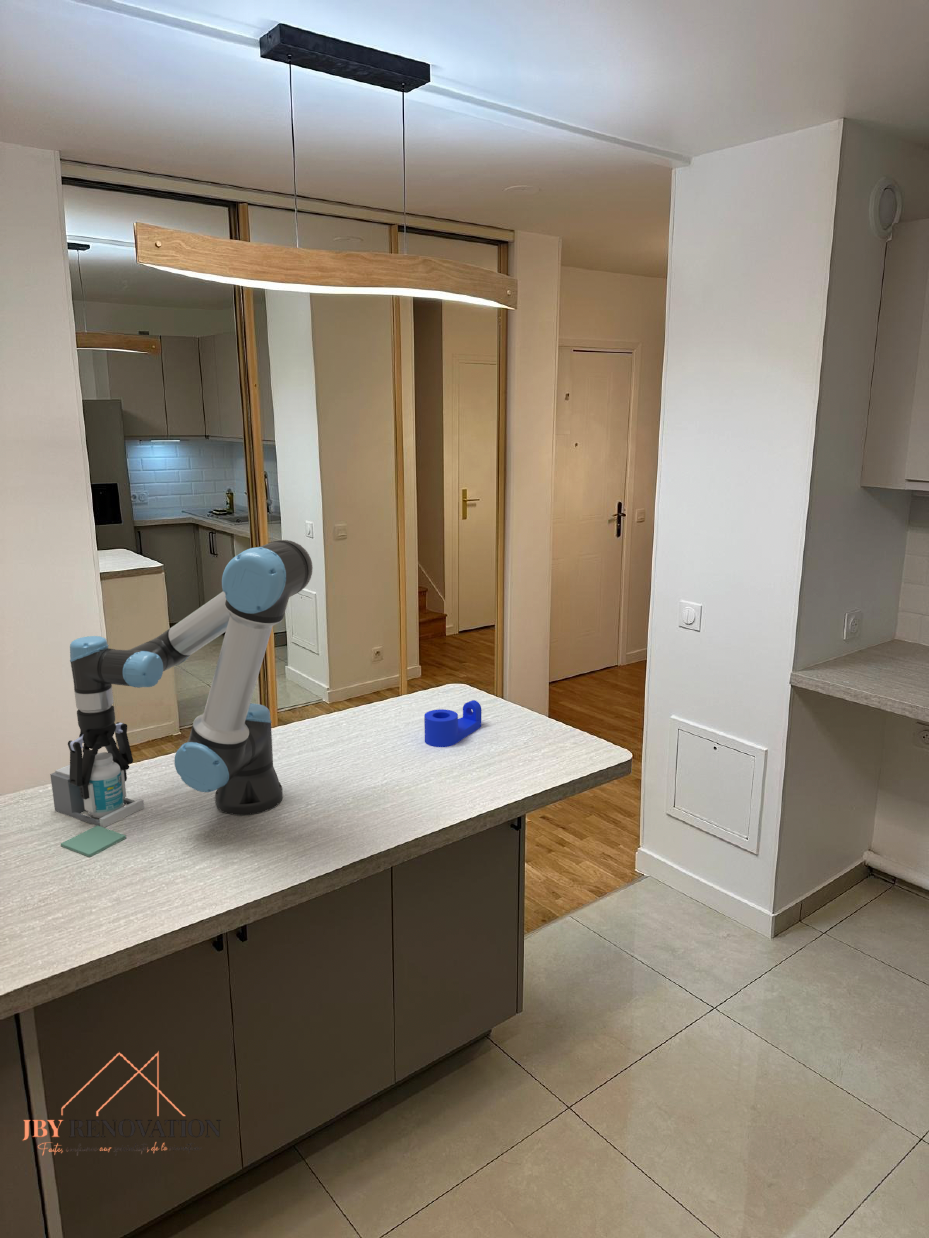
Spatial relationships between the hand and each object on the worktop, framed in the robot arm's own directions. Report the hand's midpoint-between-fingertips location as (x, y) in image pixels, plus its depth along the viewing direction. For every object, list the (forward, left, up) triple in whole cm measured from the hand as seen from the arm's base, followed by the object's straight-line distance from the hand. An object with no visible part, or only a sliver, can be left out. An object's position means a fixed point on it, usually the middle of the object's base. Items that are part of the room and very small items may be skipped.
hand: (105, 802), depth 192 cm
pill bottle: (0, 0, -2) cm, 2 cm away
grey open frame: (+2, 0, -2) cm, 3 cm away
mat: (-9, +10, -2) cm, 14 cm away
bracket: (-45, -78, -3) cm, 90 cm away
